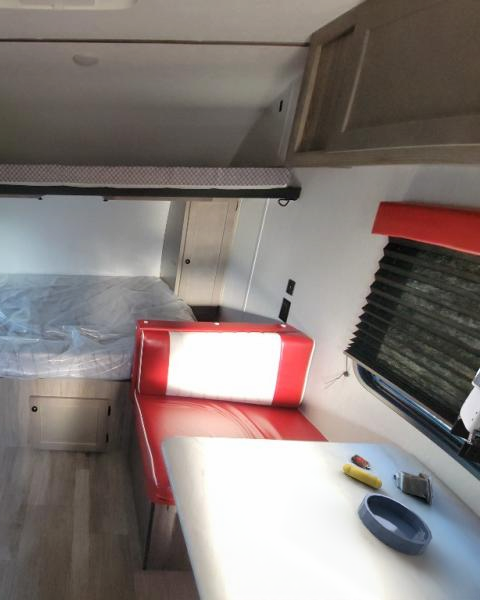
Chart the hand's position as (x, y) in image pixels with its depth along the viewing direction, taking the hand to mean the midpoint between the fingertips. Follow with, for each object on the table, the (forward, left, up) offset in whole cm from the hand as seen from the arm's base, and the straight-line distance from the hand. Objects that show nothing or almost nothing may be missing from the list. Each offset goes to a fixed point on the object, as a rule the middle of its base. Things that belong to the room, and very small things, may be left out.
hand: (462, 447), depth 78 cm
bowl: (+6, +9, -24) cm, 26 cm away
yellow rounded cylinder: (+12, -4, -23) cm, 26 cm away
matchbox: (+12, -13, -24) cm, 30 cm away
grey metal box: (0, -13, -24) cm, 28 cm away
